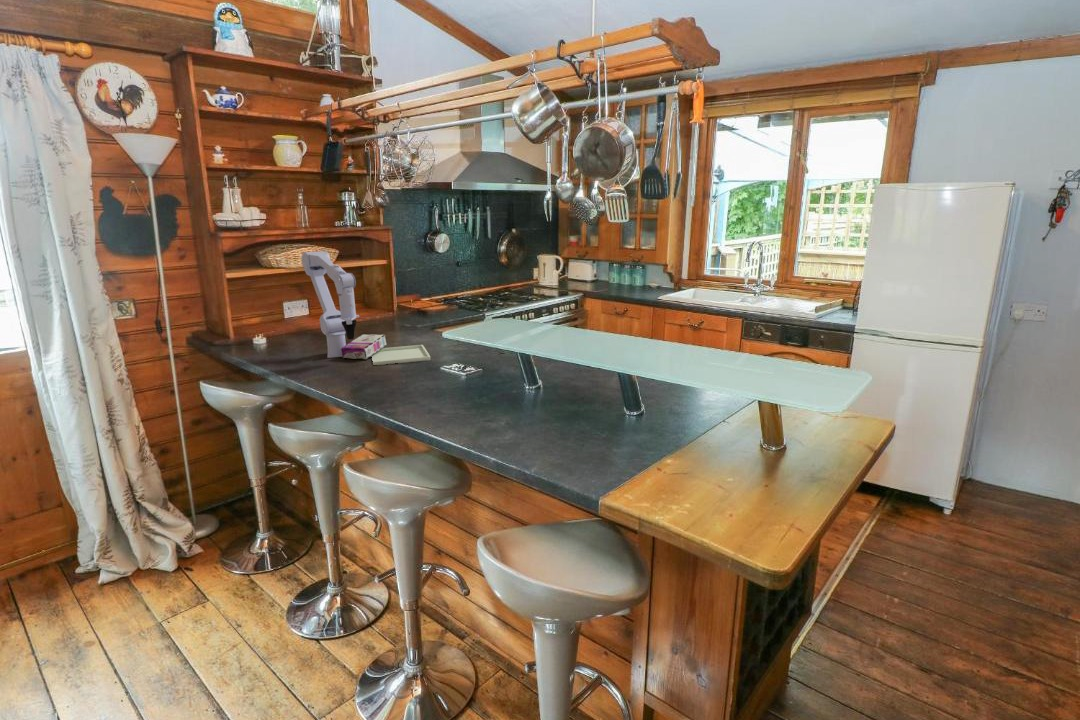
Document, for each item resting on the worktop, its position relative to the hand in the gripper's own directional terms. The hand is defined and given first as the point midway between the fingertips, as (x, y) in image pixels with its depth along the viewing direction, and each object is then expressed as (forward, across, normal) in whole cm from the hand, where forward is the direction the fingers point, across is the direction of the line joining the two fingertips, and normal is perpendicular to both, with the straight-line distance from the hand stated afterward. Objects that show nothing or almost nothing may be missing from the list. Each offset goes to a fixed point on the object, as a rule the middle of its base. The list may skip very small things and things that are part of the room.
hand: (350, 339), depth 233 cm
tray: (+9, 0, -18) cm, 20 cm away
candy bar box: (+7, +1, 0) cm, 7 cm away
